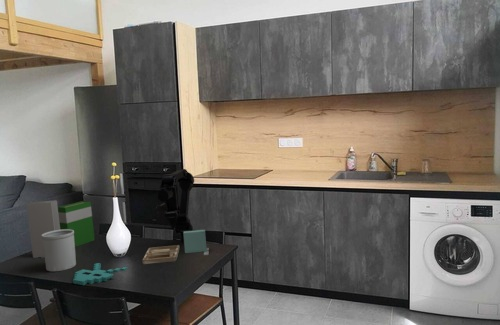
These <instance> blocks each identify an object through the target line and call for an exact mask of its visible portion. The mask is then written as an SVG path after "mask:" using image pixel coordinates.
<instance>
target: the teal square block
mask: <svg viewBox="0 0 500 325" xmlns="http://www.w3.org/2000/svg"><path fill="white" fill-rule="evenodd" d="M183 235H184V243H183V244H184V254H190V253H191V254H192V253H199V252H203V253H204V252H207V248H208V246H207V240H206V239H207V238H206V229H197V230H193V231H184V233H183Z"/></svg>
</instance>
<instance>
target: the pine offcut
mask: <svg viewBox="0 0 500 325" xmlns="http://www.w3.org/2000/svg"><path fill="white" fill-rule="evenodd" d="M169 253H170V249H162V250H153V252H152V256H153V255H167V254H169Z"/></svg>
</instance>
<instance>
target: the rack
mask: <svg viewBox="0 0 500 325" xmlns="http://www.w3.org/2000/svg"><path fill="white" fill-rule="evenodd" d="M162 249H170V254H173V257H164V258H153V259H148V256H149V254H151V253H152V252H153V250H162ZM180 249H181V248H180V244H177V245H175V244H174V245H167V246H166V245H165V246H156V247H154V246H153V247H149V248H148V249H147V251H146V252H145V254H144V255H143V256H144V257H143V258H142V265H148V264H150V265H151V264H161V263H170V262H171V263H172V262H177V260H178V255H179V253H180Z"/></svg>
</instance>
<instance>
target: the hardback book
mask: <svg viewBox="0 0 500 325" xmlns="http://www.w3.org/2000/svg"><path fill="white" fill-rule="evenodd" d="M58 215H59V223H60V230H62V229H71V230H74V243H75V248H76V247H79V246H82V245H85V244H87V243H90V242H93V241H95V240H96V239H95V229H94V224H93V222H94V221H93V220H94V219H93V211H92V203H91V201H86V202H84V200H80V201H77V202H73V203H69V204H63V205H61V206H58Z"/></svg>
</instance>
